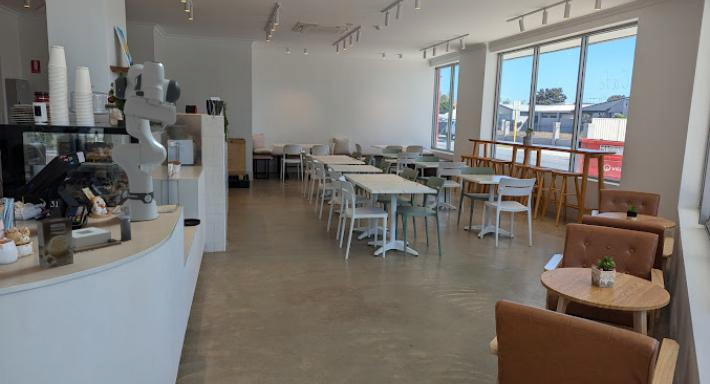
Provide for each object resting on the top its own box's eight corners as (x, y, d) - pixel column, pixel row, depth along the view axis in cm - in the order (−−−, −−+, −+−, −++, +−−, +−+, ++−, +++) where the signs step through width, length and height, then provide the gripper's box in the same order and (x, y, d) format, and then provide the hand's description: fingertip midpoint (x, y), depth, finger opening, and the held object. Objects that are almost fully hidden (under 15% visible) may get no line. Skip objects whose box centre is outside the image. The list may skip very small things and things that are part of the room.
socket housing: (59, 242, 197) (58, 232, 196) (93, 236, 208) (93, 227, 208) (76, 247, 189) (75, 237, 188) (111, 241, 201) (110, 231, 200)
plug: (119, 240, 206) (117, 217, 205) (128, 238, 210) (126, 215, 208) (124, 241, 204) (123, 218, 203) (133, 239, 207) (132, 217, 206)
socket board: (49, 244, 198) (49, 239, 197) (93, 236, 212) (93, 231, 212) (76, 253, 185) (76, 248, 185) (121, 244, 200) (121, 239, 200)
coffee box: (45, 268, 166) (42, 223, 164) (39, 265, 170) (35, 220, 168) (74, 263, 173) (71, 219, 171) (67, 259, 177) (64, 216, 175)
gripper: (173, 106, 208) (171, 137, 206) (123, 94, 195) (121, 127, 192) (179, 102, 204) (177, 133, 201) (129, 89, 190) (126, 123, 188)
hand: (149, 130), depth 197 cm, fingers open, 8 cm apart
